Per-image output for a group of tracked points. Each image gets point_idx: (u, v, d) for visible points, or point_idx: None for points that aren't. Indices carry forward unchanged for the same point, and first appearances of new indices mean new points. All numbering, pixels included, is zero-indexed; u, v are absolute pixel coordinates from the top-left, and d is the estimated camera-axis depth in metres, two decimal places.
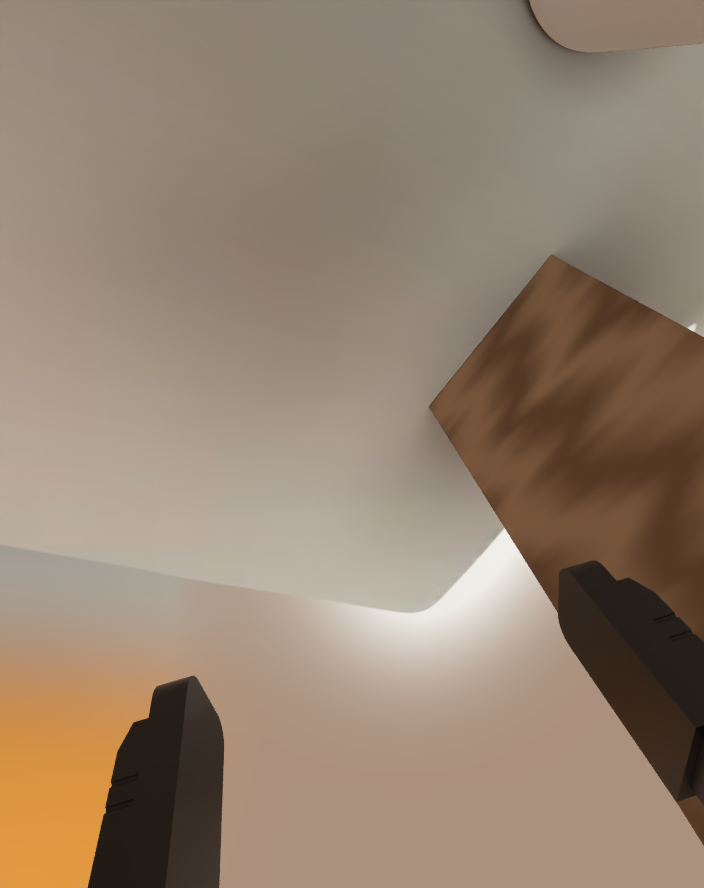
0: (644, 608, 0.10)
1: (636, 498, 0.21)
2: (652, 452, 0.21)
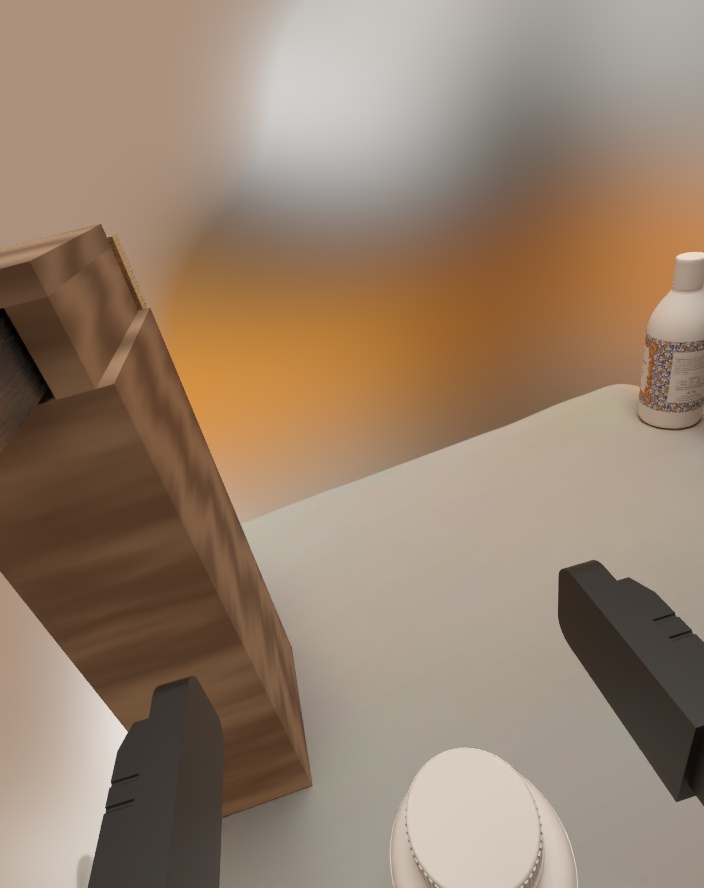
0: (644, 608, 0.10)
1: (241, 571, 0.33)
2: (247, 601, 0.32)
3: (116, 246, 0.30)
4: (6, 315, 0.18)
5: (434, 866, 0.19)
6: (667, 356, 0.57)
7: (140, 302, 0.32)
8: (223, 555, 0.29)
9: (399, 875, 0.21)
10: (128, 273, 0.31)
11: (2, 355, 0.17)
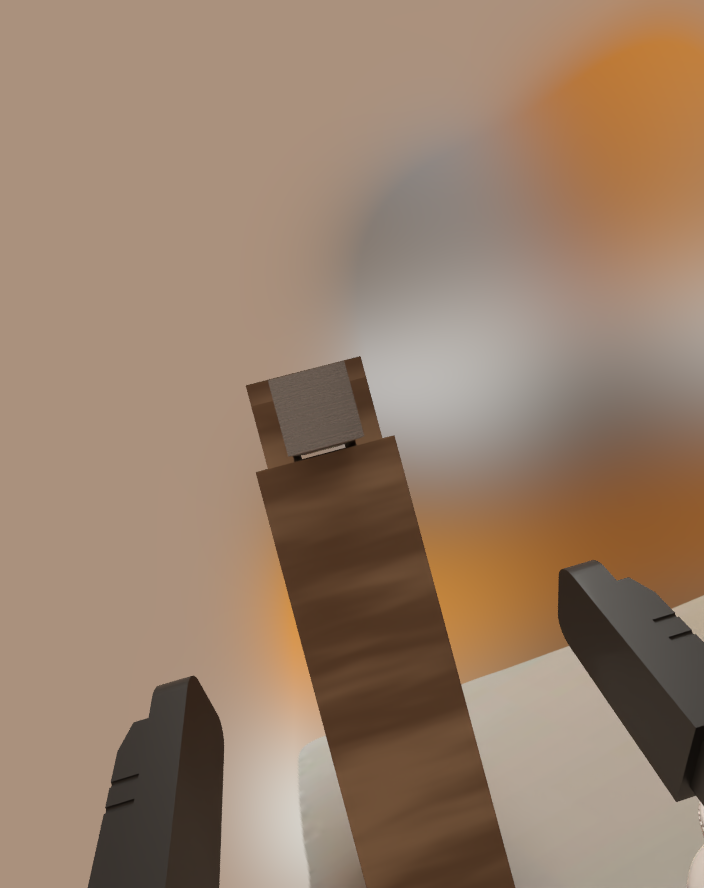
0: (644, 608, 0.10)
1: None
2: None
3: None
4: None
5: None
6: None
7: None
8: None
9: None
10: None
11: None
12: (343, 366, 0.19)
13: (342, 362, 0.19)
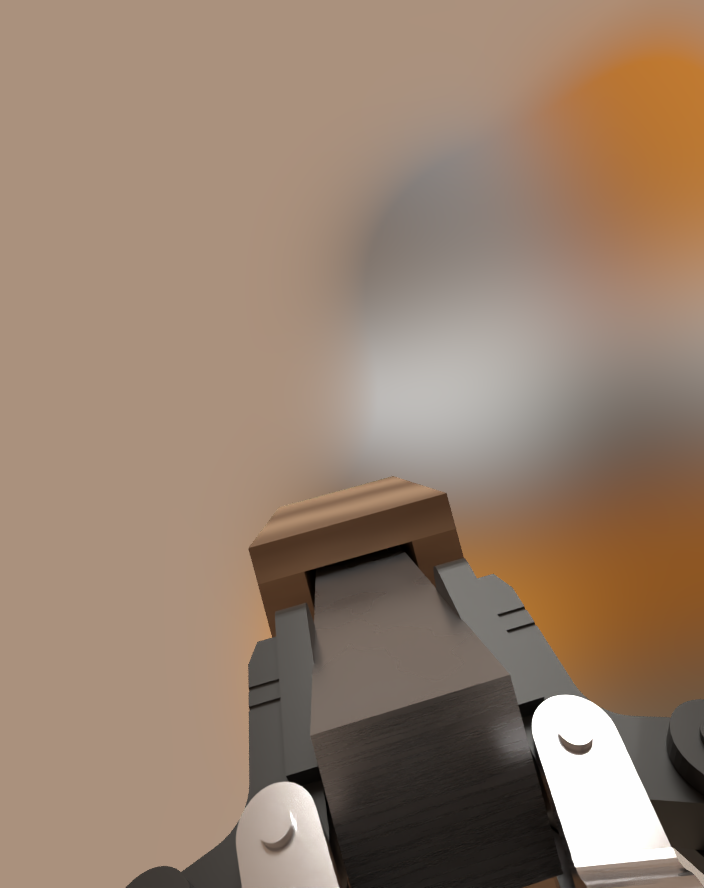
0: (499, 602, 0.10)
1: None
2: None
3: None
4: (402, 550, 0.17)
5: None
6: None
7: None
8: None
9: None
10: None
11: None
12: (508, 689, 0.07)
13: (505, 679, 0.07)
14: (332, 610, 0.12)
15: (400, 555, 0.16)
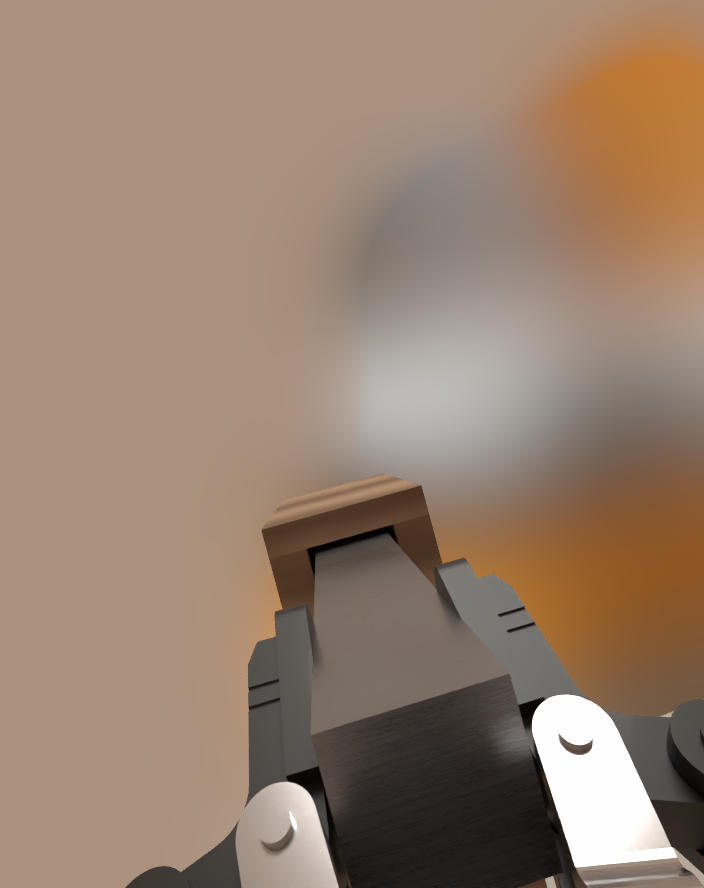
0: (499, 602, 0.10)
1: None
2: None
3: None
4: (401, 550, 0.17)
5: None
6: None
7: None
8: None
9: None
10: None
11: None
12: (508, 688, 0.07)
13: (505, 678, 0.07)
14: (332, 610, 0.12)
15: (399, 555, 0.16)
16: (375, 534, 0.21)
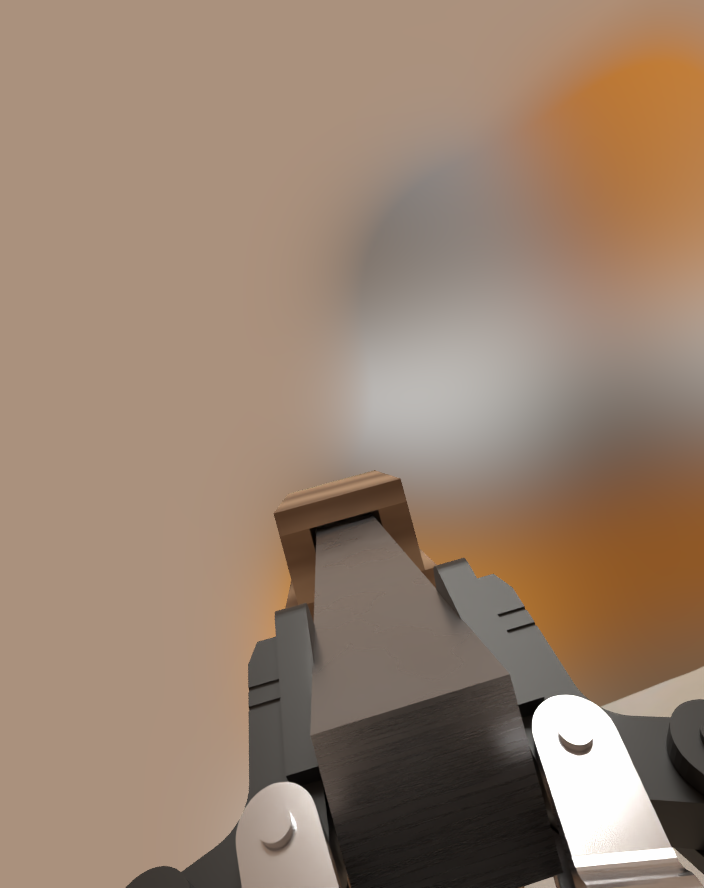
0: (499, 602, 0.10)
1: None
2: None
3: None
4: (402, 550, 0.17)
5: None
6: None
7: None
8: None
9: None
10: None
11: None
12: (508, 689, 0.07)
13: (505, 678, 0.07)
14: (332, 610, 0.12)
15: (399, 555, 0.16)
16: (375, 534, 0.21)
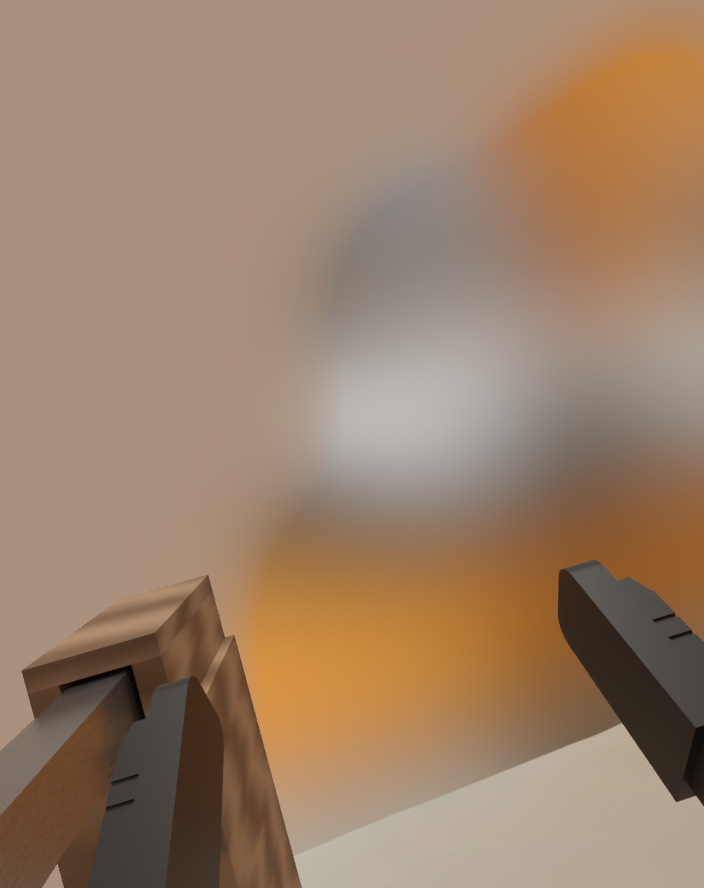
0: (644, 608, 0.10)
1: None
2: None
3: None
4: (12, 803, 0.16)
5: None
6: None
7: None
8: None
9: None
10: None
11: None
12: None
13: None
14: None
15: None
16: (60, 737, 0.20)
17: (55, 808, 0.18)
